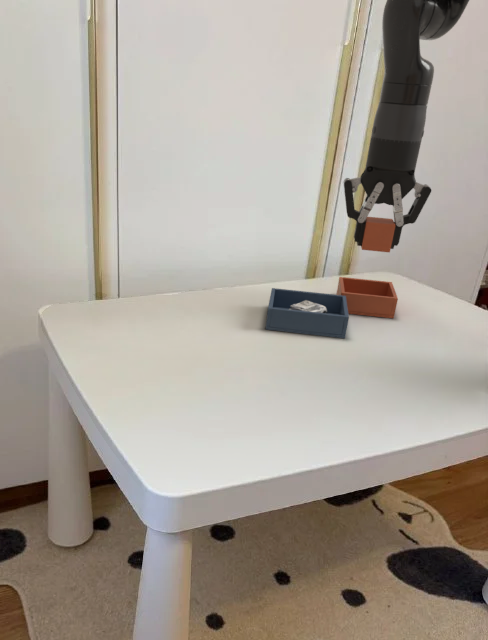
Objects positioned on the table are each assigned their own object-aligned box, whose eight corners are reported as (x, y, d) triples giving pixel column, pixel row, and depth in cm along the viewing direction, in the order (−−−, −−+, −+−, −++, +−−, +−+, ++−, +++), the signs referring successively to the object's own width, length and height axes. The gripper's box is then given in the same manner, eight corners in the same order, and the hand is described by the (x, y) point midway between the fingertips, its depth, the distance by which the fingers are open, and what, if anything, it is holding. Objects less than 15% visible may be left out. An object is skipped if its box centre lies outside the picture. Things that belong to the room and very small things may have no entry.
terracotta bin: (388, 300, 114) (392, 281, 112) (393, 318, 106) (398, 298, 104) (336, 295, 115) (339, 276, 113) (337, 312, 107) (341, 292, 105)
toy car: (330, 317, 103) (333, 299, 102) (300, 328, 98) (303, 309, 97) (312, 310, 106) (315, 293, 104) (282, 321, 101) (284, 303, 99)
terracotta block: (386, 245, 107) (392, 218, 105) (389, 252, 103) (395, 224, 101) (359, 243, 108) (364, 216, 105) (361, 249, 104) (367, 222, 101)
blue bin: (342, 315, 106) (345, 295, 104) (345, 338, 97) (348, 317, 95) (269, 307, 107) (271, 287, 106) (265, 329, 98) (268, 308, 97)
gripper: (440, 137, 99) (415, 245, 108) (348, 130, 101) (330, 236, 109) (449, 142, 93) (422, 256, 101) (350, 134, 95) (331, 247, 103)
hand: (374, 245), depth 105 cm, fingers closed on terracotta block, 4 cm apart
